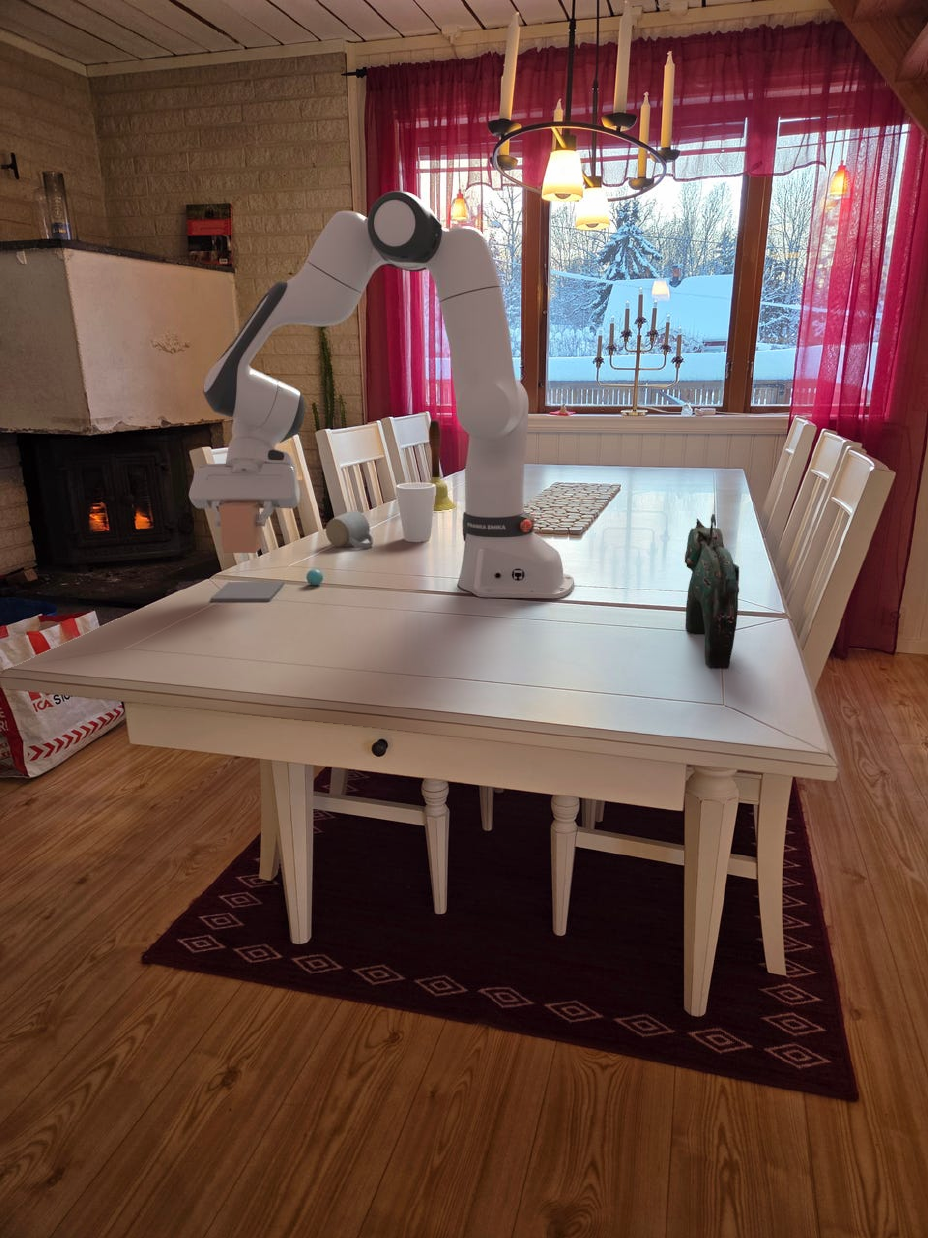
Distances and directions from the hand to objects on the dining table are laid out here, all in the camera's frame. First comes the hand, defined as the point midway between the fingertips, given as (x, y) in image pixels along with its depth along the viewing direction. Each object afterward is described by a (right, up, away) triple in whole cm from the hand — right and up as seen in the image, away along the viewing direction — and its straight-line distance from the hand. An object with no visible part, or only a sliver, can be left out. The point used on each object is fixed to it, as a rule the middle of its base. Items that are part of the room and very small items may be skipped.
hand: (239, 524), depth 146 cm
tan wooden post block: (0, -4, +2) cm, 5 cm away
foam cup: (+30, +2, +47) cm, 56 cm away
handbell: (+33, +15, +84) cm, 92 cm away
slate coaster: (0, -12, +5) cm, 13 cm away
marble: (+12, -11, +9) cm, 19 cm away
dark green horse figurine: (+79, -22, -25) cm, 86 cm away
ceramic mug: (+15, 0, +41) cm, 44 cm away
